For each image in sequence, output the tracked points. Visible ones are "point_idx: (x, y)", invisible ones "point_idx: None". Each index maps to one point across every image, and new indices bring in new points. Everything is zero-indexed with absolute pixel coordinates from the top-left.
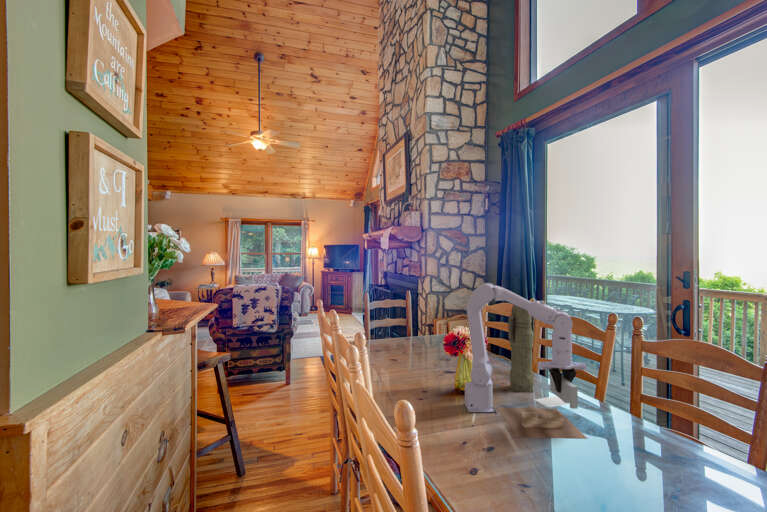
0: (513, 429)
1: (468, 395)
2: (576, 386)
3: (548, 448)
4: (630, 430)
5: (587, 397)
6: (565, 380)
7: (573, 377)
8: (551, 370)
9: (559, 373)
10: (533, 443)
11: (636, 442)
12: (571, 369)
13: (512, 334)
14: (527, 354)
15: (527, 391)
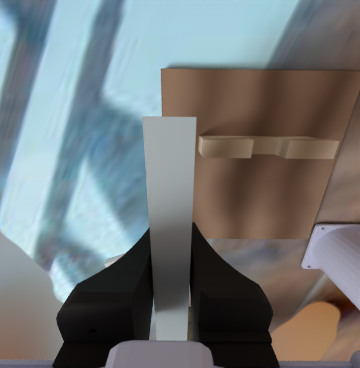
0: (346, 120)
1: None
2: (146, 130)
3: (294, 26)
4: (20, 145)
5: (66, 295)
6: (171, 250)
7: (106, 271)
8: (266, 345)
9: (231, 294)
10: (320, 58)
11: (26, 75)
12: (85, 357)
13: None
14: None
15: (190, 312)
